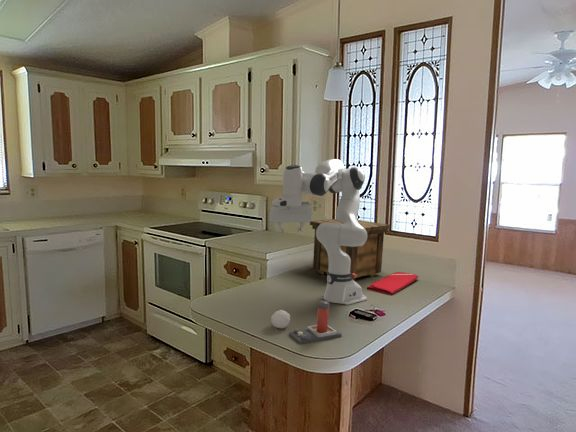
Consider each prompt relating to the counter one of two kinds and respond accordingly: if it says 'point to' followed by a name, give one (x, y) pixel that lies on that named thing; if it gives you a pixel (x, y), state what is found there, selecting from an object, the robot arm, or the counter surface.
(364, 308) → the counter surface
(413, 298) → the counter surface
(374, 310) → the counter surface
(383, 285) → the red flat block
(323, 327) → the red cylinder with cap
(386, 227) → the crate
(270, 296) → the counter surface
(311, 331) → the control panel
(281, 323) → the white swirled ball
